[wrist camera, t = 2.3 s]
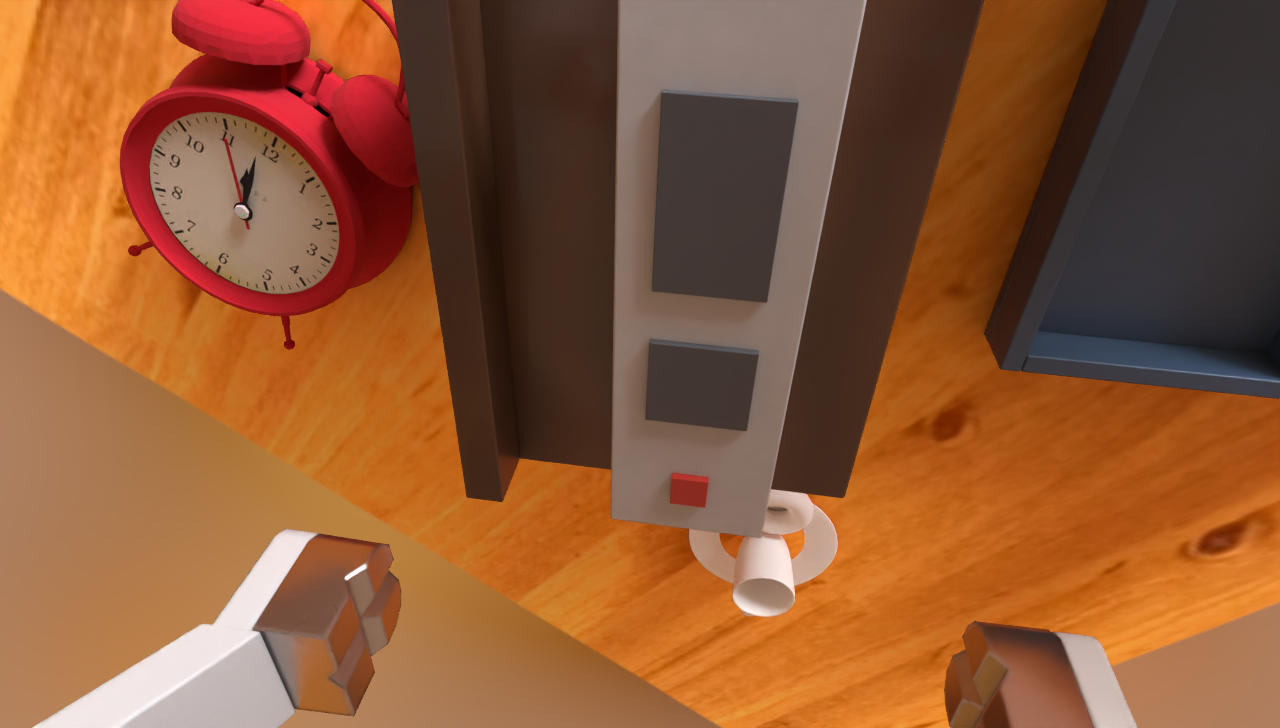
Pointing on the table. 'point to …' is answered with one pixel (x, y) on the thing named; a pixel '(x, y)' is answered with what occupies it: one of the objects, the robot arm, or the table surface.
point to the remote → (717, 243)
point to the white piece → (771, 555)
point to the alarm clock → (269, 164)
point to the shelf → (585, 223)
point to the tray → (1158, 209)
